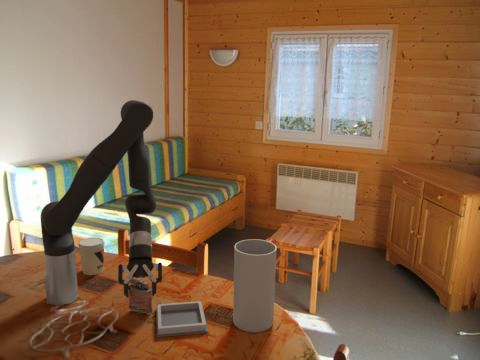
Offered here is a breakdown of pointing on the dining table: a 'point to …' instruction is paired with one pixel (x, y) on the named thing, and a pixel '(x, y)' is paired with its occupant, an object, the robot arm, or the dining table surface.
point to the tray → (180, 319)
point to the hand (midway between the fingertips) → (140, 296)
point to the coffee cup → (92, 255)
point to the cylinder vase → (254, 285)
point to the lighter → (140, 296)
